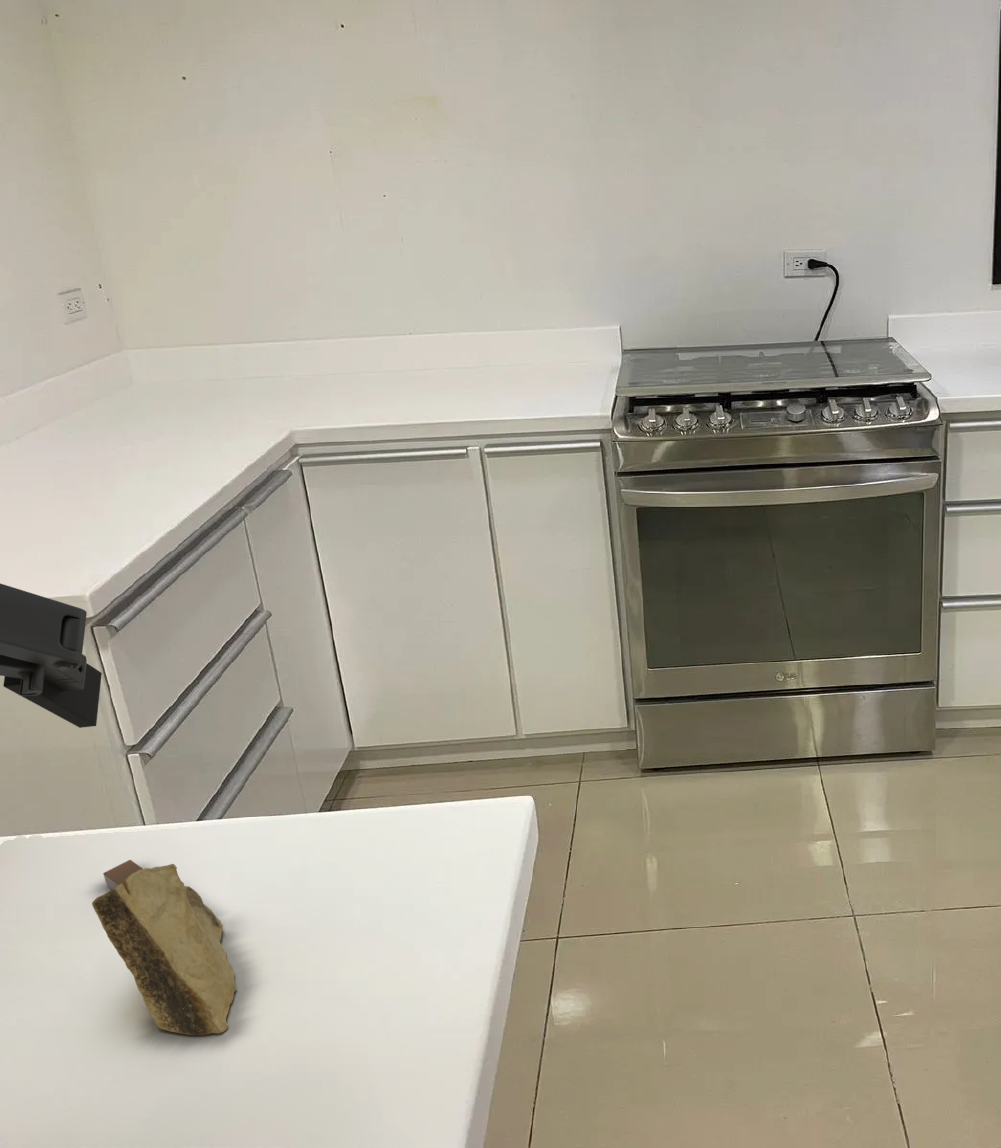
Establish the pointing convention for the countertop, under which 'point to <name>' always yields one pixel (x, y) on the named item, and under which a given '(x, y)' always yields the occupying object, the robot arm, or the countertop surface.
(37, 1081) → the countertop surface
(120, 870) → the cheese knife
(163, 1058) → the countertop surface
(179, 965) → the rock
